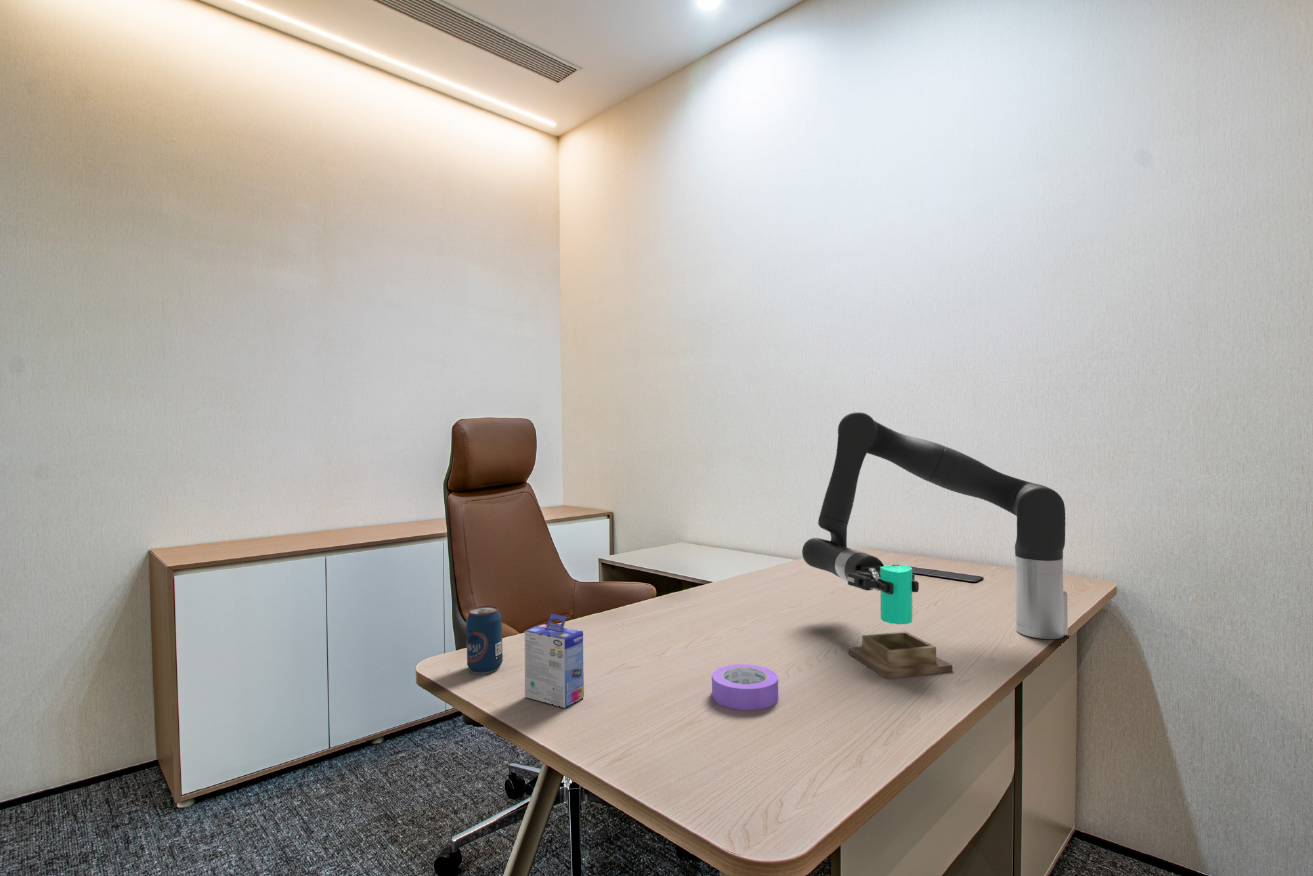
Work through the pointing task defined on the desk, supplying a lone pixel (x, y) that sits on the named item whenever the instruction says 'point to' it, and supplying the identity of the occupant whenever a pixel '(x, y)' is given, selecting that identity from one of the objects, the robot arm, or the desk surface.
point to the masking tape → (745, 687)
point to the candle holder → (899, 655)
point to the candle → (897, 594)
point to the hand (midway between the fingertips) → (904, 588)
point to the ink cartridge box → (554, 663)
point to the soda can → (484, 639)
